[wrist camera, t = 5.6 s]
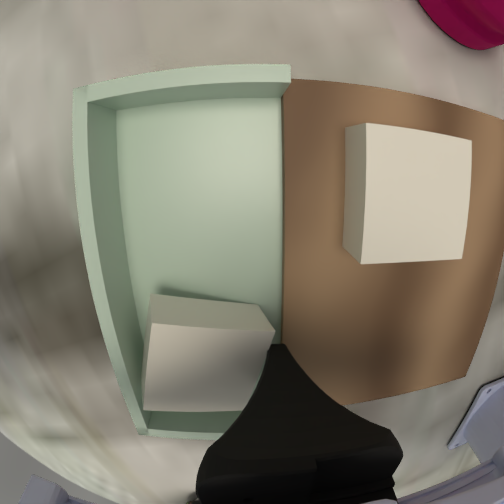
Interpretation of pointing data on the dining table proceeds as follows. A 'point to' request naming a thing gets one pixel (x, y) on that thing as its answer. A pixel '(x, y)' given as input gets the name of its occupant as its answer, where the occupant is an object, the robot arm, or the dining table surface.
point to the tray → (179, 207)
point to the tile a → (202, 354)
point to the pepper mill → (469, 20)
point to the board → (382, 274)
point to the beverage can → (194, 502)
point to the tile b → (405, 194)
